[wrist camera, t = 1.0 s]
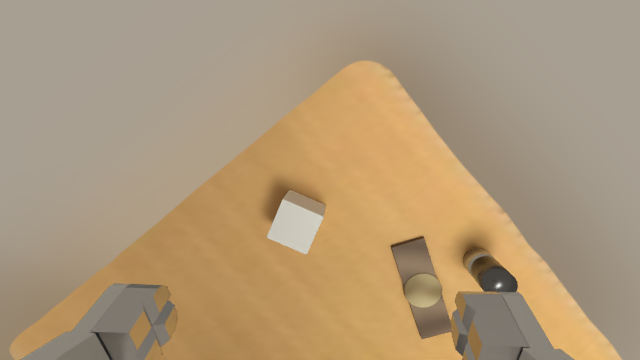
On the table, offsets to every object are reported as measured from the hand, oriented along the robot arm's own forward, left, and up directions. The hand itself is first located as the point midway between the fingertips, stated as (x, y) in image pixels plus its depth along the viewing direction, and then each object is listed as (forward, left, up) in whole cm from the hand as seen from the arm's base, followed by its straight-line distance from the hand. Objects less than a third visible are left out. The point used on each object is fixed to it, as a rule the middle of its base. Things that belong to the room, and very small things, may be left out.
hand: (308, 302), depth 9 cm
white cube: (-7, +8, -40) cm, 42 cm away
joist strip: (-24, -6, -40) cm, 47 cm away
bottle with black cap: (-22, -15, -40) cm, 48 cm away
